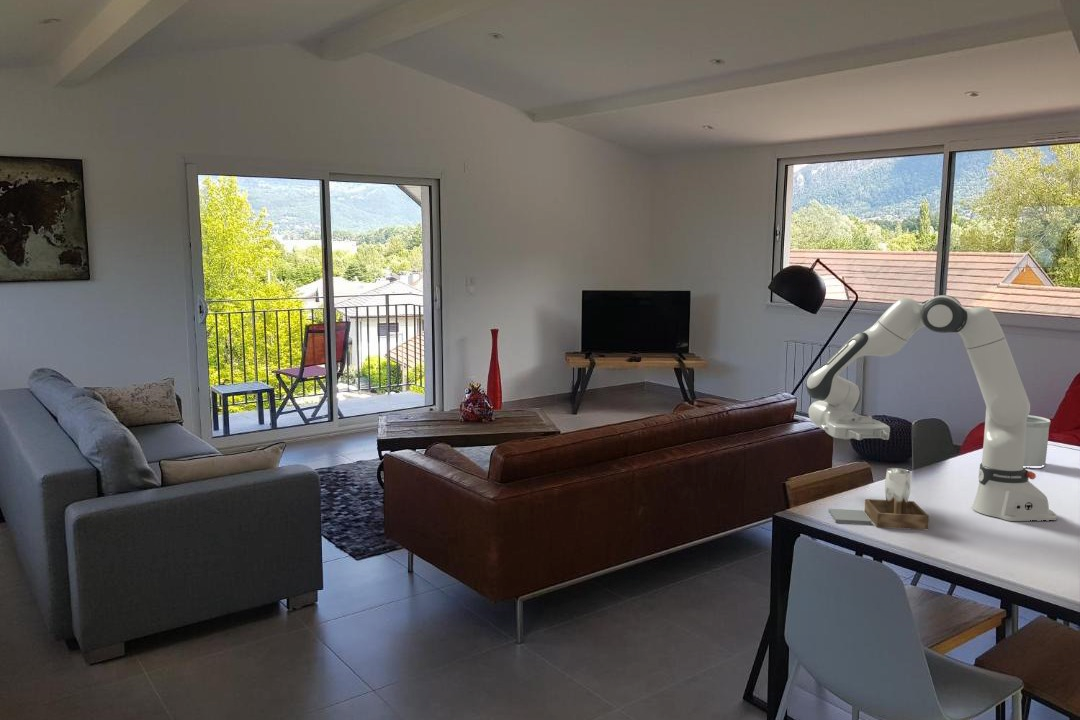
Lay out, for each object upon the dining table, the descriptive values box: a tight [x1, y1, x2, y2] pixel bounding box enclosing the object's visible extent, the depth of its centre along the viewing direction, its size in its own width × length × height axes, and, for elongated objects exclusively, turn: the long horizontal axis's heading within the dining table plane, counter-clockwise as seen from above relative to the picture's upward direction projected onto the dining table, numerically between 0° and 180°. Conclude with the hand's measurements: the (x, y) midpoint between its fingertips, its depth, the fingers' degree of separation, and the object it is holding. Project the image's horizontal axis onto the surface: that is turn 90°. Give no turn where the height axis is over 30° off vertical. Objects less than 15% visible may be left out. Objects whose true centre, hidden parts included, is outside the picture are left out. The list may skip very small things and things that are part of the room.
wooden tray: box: [863, 498, 930, 530], centre depth 246 cm, size 14×14×4 cm
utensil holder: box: [1023, 414, 1052, 466], centre depth 311 cm, size 15×15×18 cm
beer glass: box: [884, 467, 912, 514], centre depth 245 cm, size 7×7×15 cm
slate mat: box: [827, 508, 873, 525], centre depth 247 cm, size 10×10×1 cm
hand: (874, 437), depth 254 cm, fingers open, 8 cm apart
